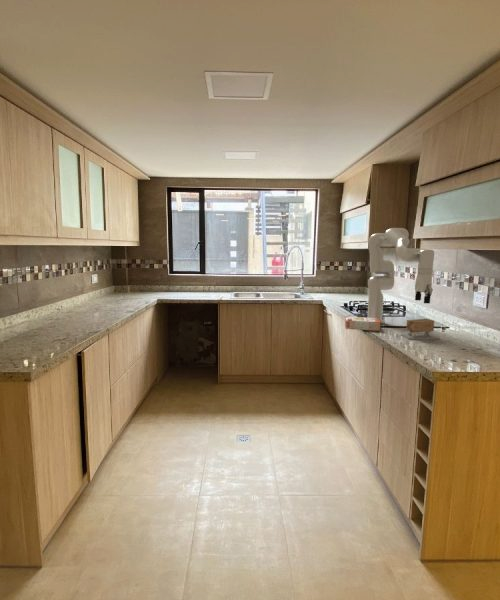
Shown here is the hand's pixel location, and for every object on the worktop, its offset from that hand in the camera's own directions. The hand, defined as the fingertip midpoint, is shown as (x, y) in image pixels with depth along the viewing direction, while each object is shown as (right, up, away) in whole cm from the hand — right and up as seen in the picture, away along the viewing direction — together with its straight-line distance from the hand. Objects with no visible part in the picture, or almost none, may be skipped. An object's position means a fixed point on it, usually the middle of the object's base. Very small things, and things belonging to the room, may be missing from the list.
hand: (422, 301), depth 211 cm
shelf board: (0, -17, +2) cm, 17 cm away
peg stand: (0, -21, +3) cm, 21 cm away
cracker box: (-16, -14, +23) cm, 31 cm away
